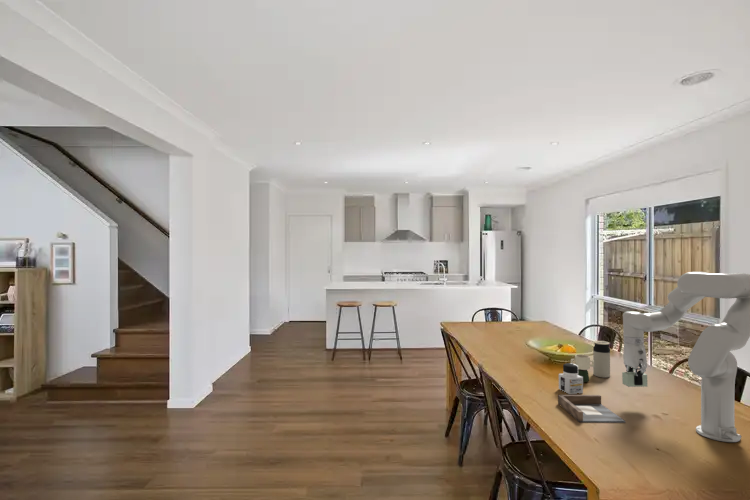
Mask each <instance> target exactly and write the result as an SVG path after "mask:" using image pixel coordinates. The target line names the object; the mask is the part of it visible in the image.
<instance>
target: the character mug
mask: <svg viewBox="0 0 750 500" xmlns="http://www.w3.org/2000/svg"><path fill="white" fill-rule="evenodd" d="M570 363H572V364H576V365H577V366H578V375H579V376H582V377H583V383H587V382H589V381H590V378H589V377H590V376H589V371H588V370H591V369H590V368H591V367H592V368H593V366H594V360H593V359H591V356H589V355H587V354H575V355H574V358H570Z"/></svg>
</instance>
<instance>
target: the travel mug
mask: <svg viewBox="0 0 750 500" xmlns="http://www.w3.org/2000/svg"><path fill="white" fill-rule="evenodd" d="M593 343H594V346H592V347H593V349H592V350H593V352H592V353H593V359H592V360H594V366H593V367H592V368H593V369H592V370H593V375H594V376H595V377H598V378H604V379H605V378H610V377H611V349H610V344H611V343H610V342H608V341H605V340H595V341H593Z"/></svg>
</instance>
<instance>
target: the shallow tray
mask: <svg viewBox="0 0 750 500" xmlns="http://www.w3.org/2000/svg"><path fill="white" fill-rule="evenodd" d="M557 404H558V405H559V406H560V405H561V406H562V407H563V408H564V409H565V410H564V409H563V408H562V407H561V406H560V407H561V408H562V409H563V410H564V411H566V412H567V413H568V414H569V415H570V414H571V415H572V416H571V415H570V416H571V417H573V419H575V420H576V421H577V422H578V423H620V424H621V423H626V420H624V419H623V418H622V417H620V416H619V415H617V413H616V412H615V413H614V411H612V410H611V409H609V408H608V407H606V406H605V405H604V404H602V395H600V394H558V395H557Z"/></svg>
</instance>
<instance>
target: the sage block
mask: <svg viewBox="0 0 750 500" xmlns="http://www.w3.org/2000/svg"><path fill="white" fill-rule="evenodd" d="M621 375H622V376H621V377H622V378H621V379H622V384H623V385H624V386H626V387H628V388H629V387H630V388H631V387H632V388H633V387H634V388H635V387H637V388H640V387H643V388H644V387H646V388H647V387H648V386H649V384H648V374H647V373H644V374H643V376H642V378H643V385H635V384H634V375H635V371H634V372H627V371H623V372H621Z"/></svg>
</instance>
